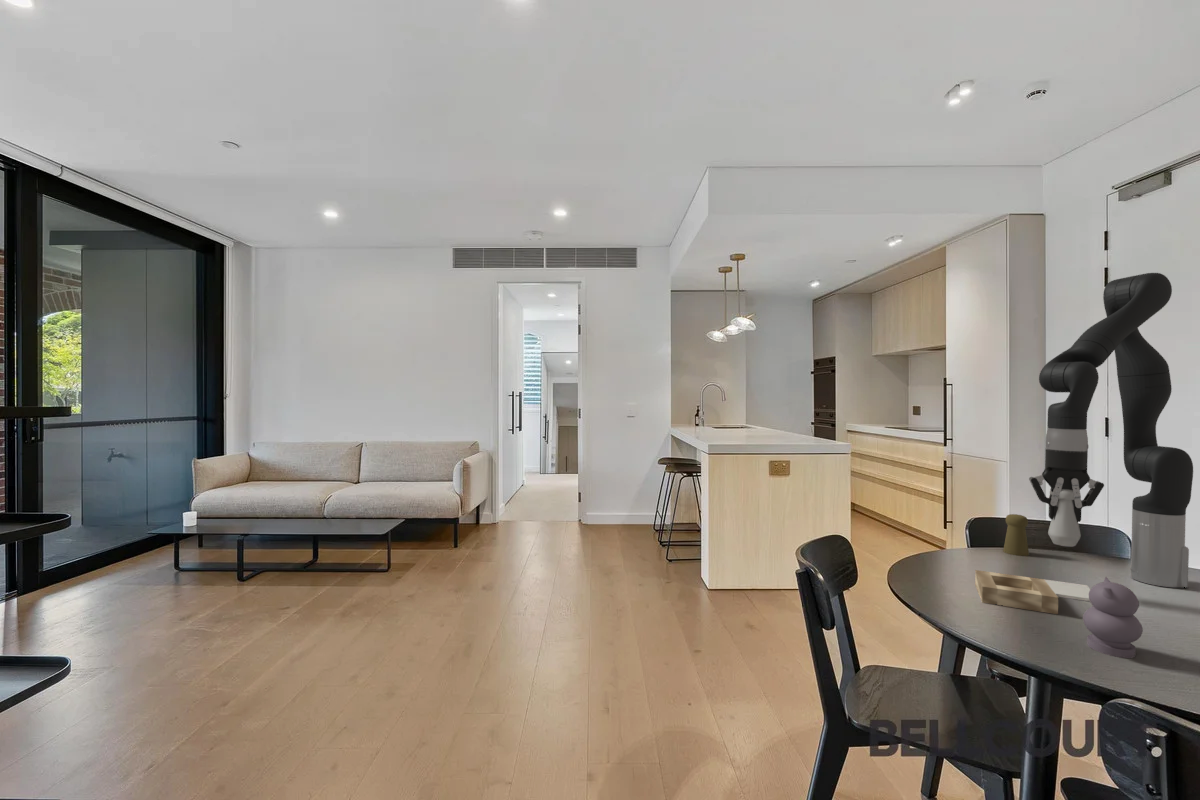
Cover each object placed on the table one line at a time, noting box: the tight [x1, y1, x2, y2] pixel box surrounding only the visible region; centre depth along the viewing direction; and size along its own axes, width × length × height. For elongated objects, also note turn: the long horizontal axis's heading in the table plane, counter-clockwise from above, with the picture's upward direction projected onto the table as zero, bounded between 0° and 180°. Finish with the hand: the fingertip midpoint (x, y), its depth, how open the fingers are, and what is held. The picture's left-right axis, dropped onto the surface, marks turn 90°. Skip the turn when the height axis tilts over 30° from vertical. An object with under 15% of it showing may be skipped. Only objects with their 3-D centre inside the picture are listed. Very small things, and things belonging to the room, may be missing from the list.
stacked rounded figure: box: [1082, 576, 1144, 659], centre depth 99 cm, size 8×8×12 cm
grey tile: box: [1044, 579, 1091, 602], centre depth 129 cm, size 11×11×1 cm
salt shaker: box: [1047, 489, 1082, 548], centre depth 129 cm, size 6×6×13 cm
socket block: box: [974, 569, 1059, 615], centre depth 124 cm, size 13×13×4 cm
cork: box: [1002, 513, 1030, 557], centre depth 160 cm, size 6×6×11 cm
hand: (1064, 522), depth 129 cm, fingers closed on salt shaker, 3 cm apart
